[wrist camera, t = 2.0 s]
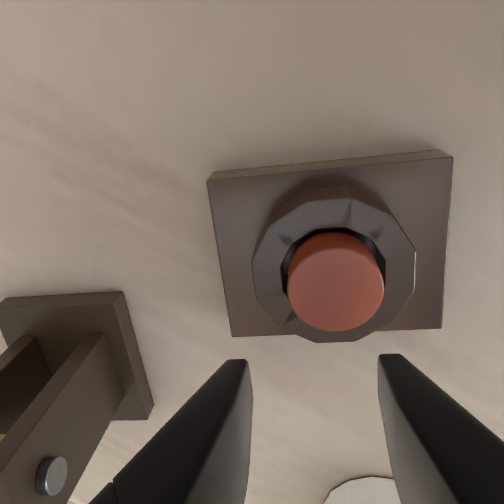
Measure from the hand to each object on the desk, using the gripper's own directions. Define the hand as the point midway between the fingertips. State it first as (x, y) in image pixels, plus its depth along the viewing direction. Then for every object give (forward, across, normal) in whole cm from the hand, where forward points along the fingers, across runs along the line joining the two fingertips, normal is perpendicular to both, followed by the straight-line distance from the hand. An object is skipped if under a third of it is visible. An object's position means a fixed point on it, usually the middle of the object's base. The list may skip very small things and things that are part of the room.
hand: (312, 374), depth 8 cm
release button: (+9, -1, +2) cm, 9 cm away
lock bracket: (+12, +14, +8) cm, 20 cm away
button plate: (+12, -1, +2) cm, 12 cm away
